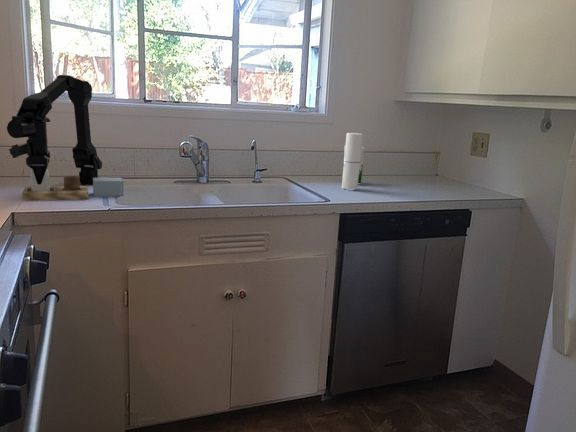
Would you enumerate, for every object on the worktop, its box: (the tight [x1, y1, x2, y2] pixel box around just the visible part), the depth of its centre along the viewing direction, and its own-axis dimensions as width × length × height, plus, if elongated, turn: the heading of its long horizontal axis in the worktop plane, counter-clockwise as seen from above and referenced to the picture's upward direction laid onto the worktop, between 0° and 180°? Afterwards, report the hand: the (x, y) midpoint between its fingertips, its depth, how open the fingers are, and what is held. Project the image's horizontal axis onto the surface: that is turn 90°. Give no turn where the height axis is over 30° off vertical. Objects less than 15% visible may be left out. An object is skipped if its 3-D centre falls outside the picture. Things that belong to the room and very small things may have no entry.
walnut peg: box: [63, 175, 81, 191], centre depth 172 cm, size 5×4×7 cm
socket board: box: [21, 185, 89, 202], centre depth 171 cm, size 20×12×2 cm, turn 113°
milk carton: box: [341, 145, 366, 183], centre depth 236 cm, size 9×9×20 cm
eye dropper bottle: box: [29, 168, 51, 191], centre depth 167 cm, size 4×6×12 cm
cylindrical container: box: [341, 132, 364, 190], centre depth 219 cm, size 7×7×25 cm
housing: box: [92, 177, 125, 198], centre depth 179 cm, size 10×7×6 cm
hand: (40, 181), depth 168 cm, fingers closed on eye dropper bottle, 8 cm apart
